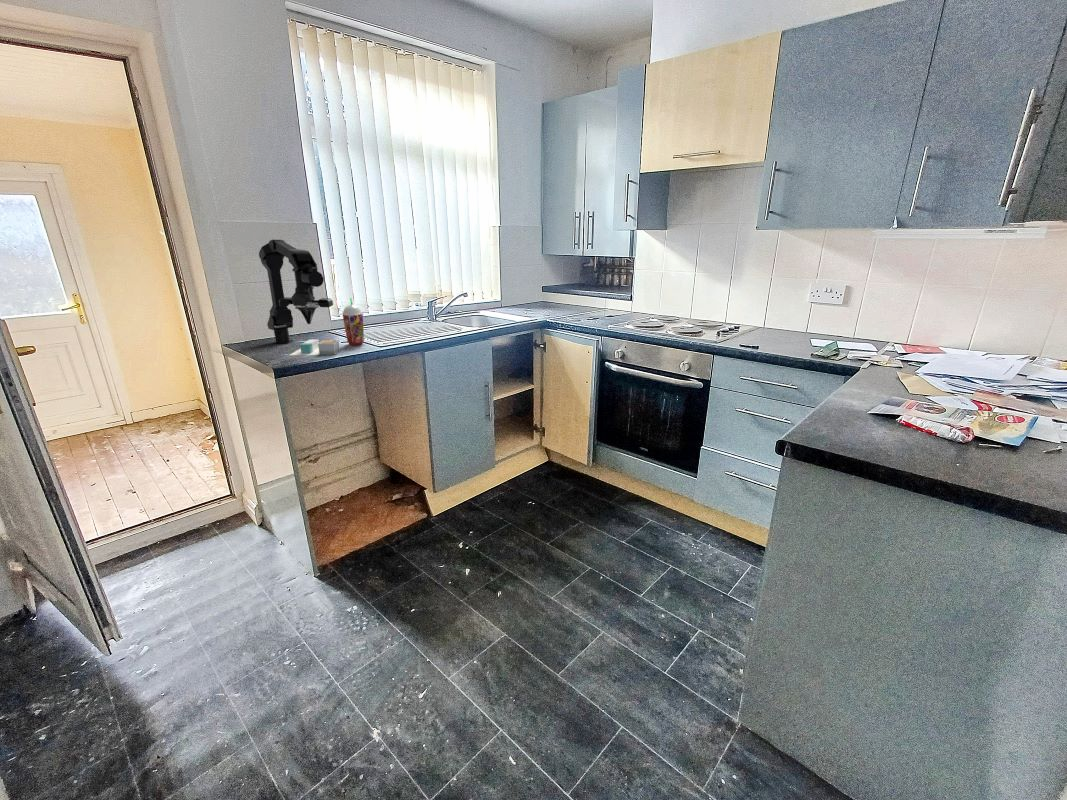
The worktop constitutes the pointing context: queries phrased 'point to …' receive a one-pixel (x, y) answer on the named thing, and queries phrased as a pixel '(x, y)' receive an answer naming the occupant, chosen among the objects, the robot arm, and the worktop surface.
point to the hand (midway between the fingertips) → (309, 324)
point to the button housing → (328, 348)
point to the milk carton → (309, 346)
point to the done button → (328, 341)
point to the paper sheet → (305, 353)
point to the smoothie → (353, 324)
